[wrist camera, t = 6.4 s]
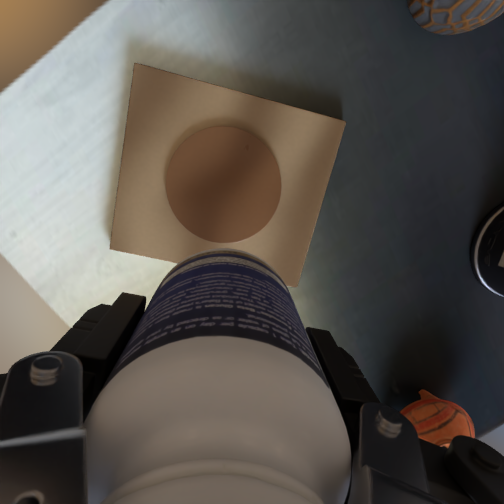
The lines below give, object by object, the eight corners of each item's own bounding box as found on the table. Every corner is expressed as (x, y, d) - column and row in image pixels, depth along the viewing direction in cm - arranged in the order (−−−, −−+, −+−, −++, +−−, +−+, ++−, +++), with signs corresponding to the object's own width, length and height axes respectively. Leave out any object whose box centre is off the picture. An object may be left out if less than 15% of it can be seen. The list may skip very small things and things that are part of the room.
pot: (386, 458, 35) (415, 511, 28) (365, 390, 35) (390, 428, 28) (460, 438, 35) (507, 487, 28) (439, 369, 34) (482, 402, 28)
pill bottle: (131, 273, 12) (-186, 638, 3) (265, 225, 12) (381, 451, 3) (186, 386, 14) (93, 864, 4) (307, 344, 14) (474, 753, 4)
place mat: (343, 122, 26) (348, 120, 25) (295, 284, 29) (297, 289, 28) (137, 65, 24) (133, 60, 23) (112, 246, 27) (107, 250, 26)
